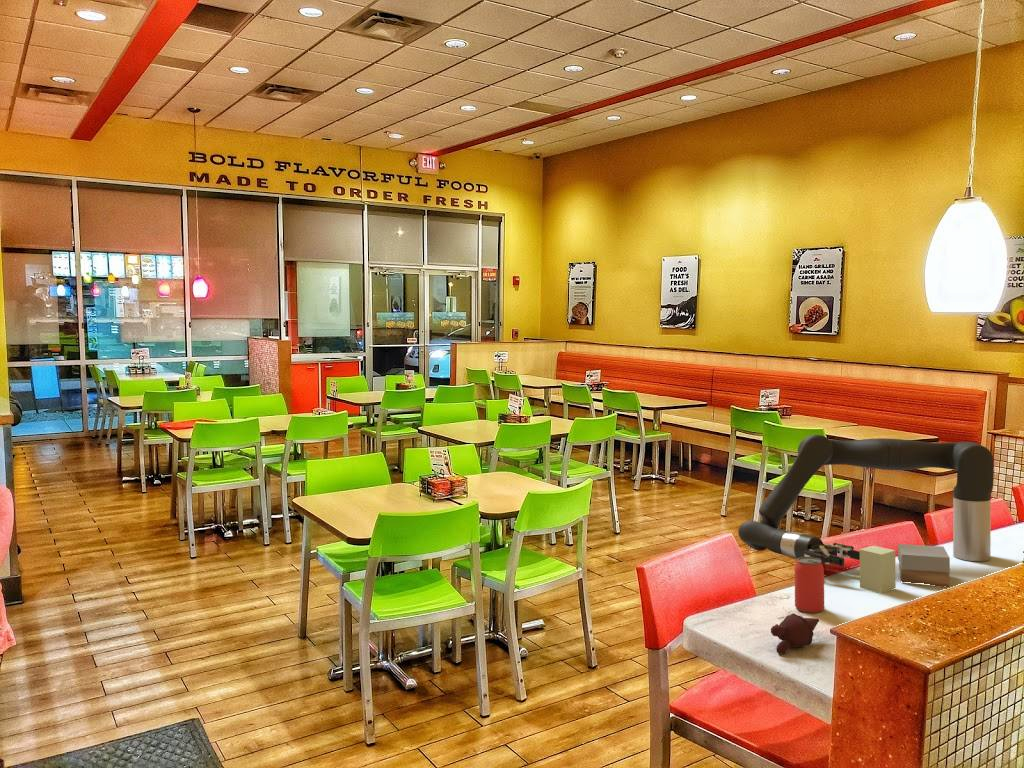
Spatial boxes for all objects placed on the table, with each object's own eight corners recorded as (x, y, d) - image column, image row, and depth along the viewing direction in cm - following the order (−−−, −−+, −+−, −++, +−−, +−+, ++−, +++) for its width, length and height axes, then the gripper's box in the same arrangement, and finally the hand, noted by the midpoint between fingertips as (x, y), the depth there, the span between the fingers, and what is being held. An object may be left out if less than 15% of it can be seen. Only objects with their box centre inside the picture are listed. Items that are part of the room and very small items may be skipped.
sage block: (873, 583, 200) (873, 545, 199) (895, 588, 194) (895, 550, 194) (859, 587, 196) (859, 549, 196) (881, 593, 191) (881, 554, 191)
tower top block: (897, 558, 209) (897, 543, 209) (943, 561, 205) (943, 546, 204) (901, 569, 199) (901, 554, 198) (949, 573, 194) (949, 557, 194)
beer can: (819, 616, 177) (819, 565, 177) (791, 610, 181) (790, 561, 181) (827, 607, 182) (827, 558, 182) (799, 602, 186) (799, 554, 186)
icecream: (799, 603, 168) (755, 624, 160) (828, 603, 162) (784, 625, 154) (808, 634, 167) (765, 657, 159) (837, 636, 161) (794, 660, 153)
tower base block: (899, 572, 209) (899, 558, 209) (945, 576, 204) (945, 562, 204) (901, 584, 199) (901, 569, 199) (949, 589, 194) (949, 573, 194)
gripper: (784, 537, 211) (836, 550, 197) (817, 529, 218) (869, 541, 204) (785, 564, 211) (837, 578, 197) (817, 555, 219) (870, 568, 205)
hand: (853, 559), depth 201 cm, fingers open, 8 cm apart
